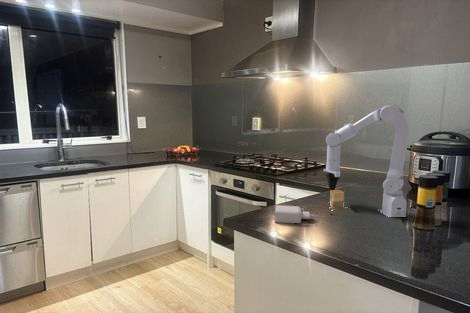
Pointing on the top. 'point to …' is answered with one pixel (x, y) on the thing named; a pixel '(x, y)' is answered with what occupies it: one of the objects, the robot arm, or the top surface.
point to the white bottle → (290, 214)
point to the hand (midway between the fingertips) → (331, 189)
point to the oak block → (336, 198)
